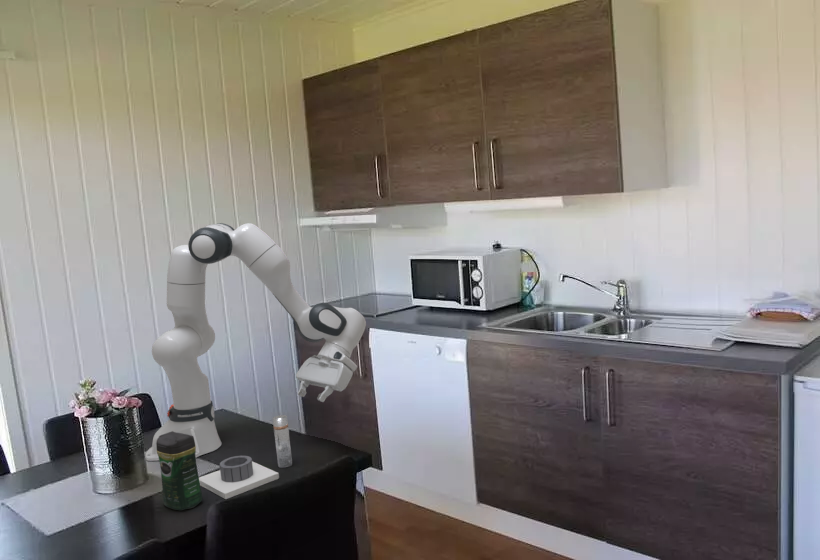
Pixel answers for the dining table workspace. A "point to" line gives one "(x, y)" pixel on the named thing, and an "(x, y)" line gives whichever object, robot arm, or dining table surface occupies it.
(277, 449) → the silver peg
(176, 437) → the coffee jar
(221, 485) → the collar plate
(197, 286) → the robot arm
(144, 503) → the dining table surface
